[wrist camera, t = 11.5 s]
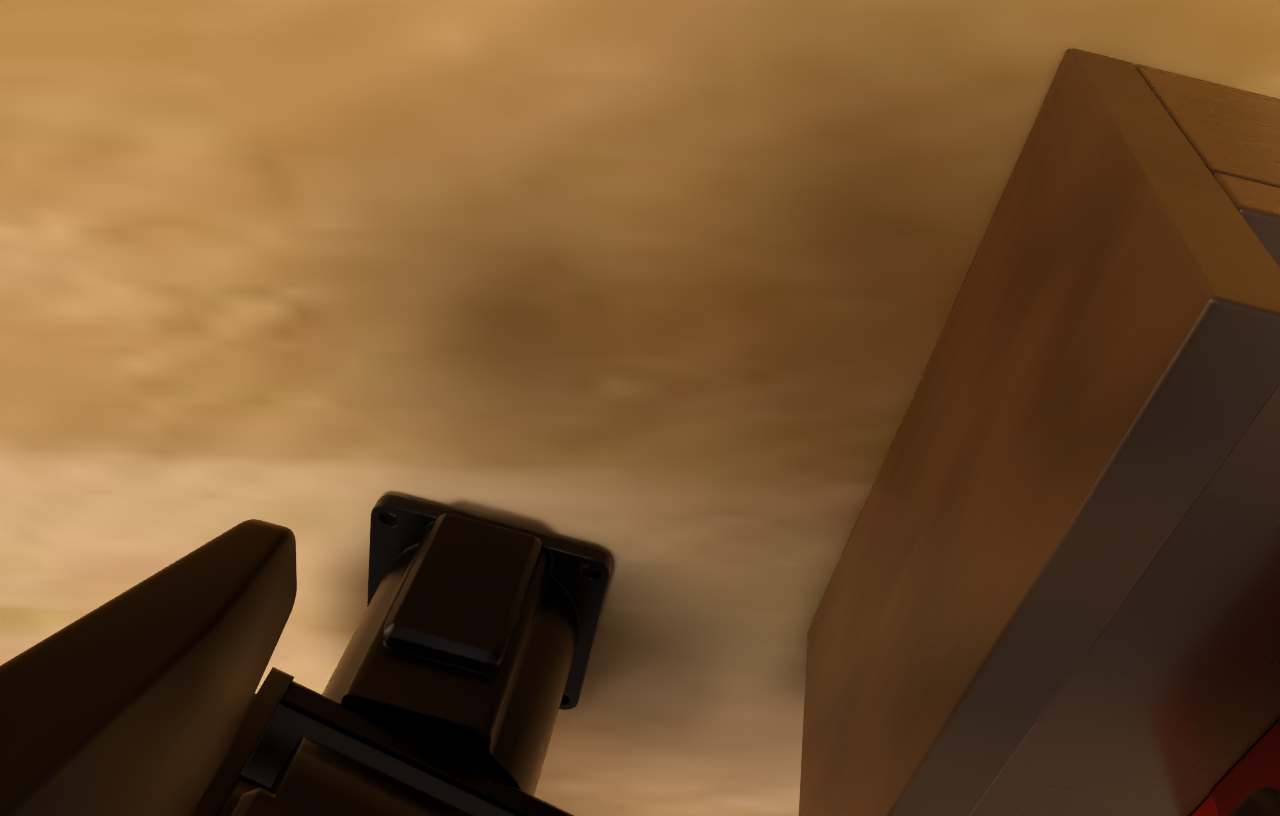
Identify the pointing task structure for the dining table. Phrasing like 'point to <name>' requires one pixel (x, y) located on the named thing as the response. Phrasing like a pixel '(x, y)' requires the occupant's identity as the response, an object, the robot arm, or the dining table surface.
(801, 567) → the dining table surface
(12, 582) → the dining table surface
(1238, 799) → the red square bottle
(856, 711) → the shelf
